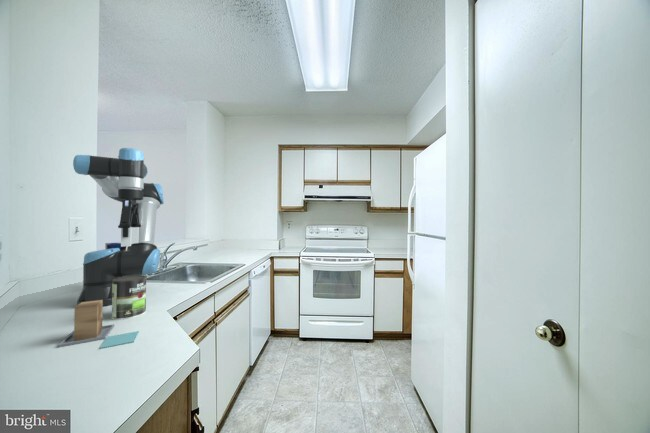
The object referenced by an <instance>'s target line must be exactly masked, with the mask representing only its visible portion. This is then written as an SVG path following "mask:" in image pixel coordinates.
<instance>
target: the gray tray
mask: <svg viewBox="0 0 650 433" xmlns="http://www.w3.org/2000/svg"><path fill="white" fill-rule="evenodd" d="M114 328H115V324H114V323H113V324H107V325H102V332H101V333H100V334H99V335H98V337H96V338H91V339H85V340H79V341H74V330H73V331H72V332H70V334H68V335H67V336H66V337H65V338H63V339H62V341H61V342H60V343H58V345H57V348H59V349H60V348H65V347H70V346H74V345H80V344H86V343H91V342H96V341H97V342H98V341H102V340H106V338H107V337H108V336H109V334H110V333H111V332H112V330H113V329H114Z"/></svg>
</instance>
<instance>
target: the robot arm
mask: <svg viewBox="0 0 650 433" xmlns="http://www.w3.org/2000/svg"><path fill="white" fill-rule="evenodd" d="M144 160H145V157H144V152H143V151H142V150H140V149H138V148H133V147H132V148H131V147H122V148H120V149H119V150H118V156H117V157H107V156H106V157H105V156H100V155H99V156H98V155H97V156H96V155H90V154H77V155H75V156H74V158H73V161H72V162H73V163H72V164H73V165H72V166H73V170H74V171H75V174H78V175H84V176H90V177H91V178H92V179H93V180H94V181H95V182H96V183H97V184H98V186H100V187H101V190H102V192H103V194H104V195H106V196H107V197H108V198H110V199H113V200H114V201H117V202H120V203H122V205H121V213H120V220H119V225H117V227H118V229H120V243H121V247H124V246H126V251H120V249H119V248H112V249H100V250H99V249H98V250H93V251H89V252H87V253H85V254H84V256H83V263H82V265H83V266H82V267H83V273H82V274H83V276H82V282H83V284H82V289H81V292H80V293H79V296H78V298H77V300H76V306H77V305H78V304H80V303H81V302H88V301H96V300H103V307H105V306H106V307H107V306H110V305H111V306H112V280H113V279H116V278H119V277H124V276H134V275H144V276H147V275H153V274H155V273H156V272H157V271H158V268H159V265H160V261H161V250H160V249H159V248H158V246H157V245H156V244H155V234H156V221H157V210H158V209H159V208H160V207H161V205H164V195H163V187H162V185H161V184H160V183H154V182H150V183H148V182H145V181H144V180H145V179H144V178H146V177H147V175H148V166H146V164H145V161H144Z"/></svg>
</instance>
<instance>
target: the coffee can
mask: <svg viewBox="0 0 650 433" xmlns="http://www.w3.org/2000/svg"><path fill="white" fill-rule="evenodd" d="M146 306H147V275H134V276H125V277H119V278H116V279H113V280H112V304H111V319H112V320H114V321H116V320H117V321H120V320H121V321H123V320H128V319H133V318H137V317H140V316H142V315H144V314H145V313H146V312H147V311H146V310H147V307H146Z"/></svg>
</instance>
